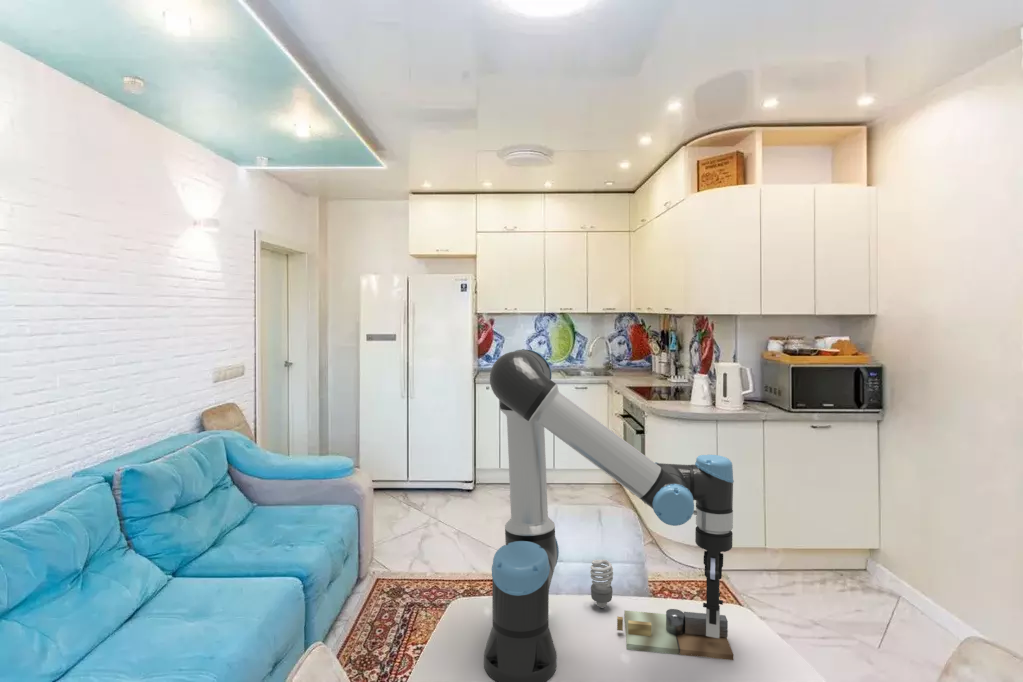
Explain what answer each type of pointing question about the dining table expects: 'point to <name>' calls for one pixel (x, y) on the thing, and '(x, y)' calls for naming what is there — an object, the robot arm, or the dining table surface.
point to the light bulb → (601, 590)
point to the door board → (669, 638)
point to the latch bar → (691, 623)
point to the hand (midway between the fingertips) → (712, 635)
